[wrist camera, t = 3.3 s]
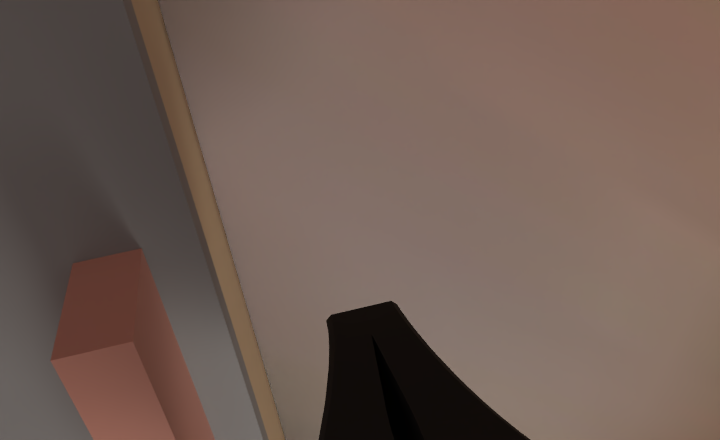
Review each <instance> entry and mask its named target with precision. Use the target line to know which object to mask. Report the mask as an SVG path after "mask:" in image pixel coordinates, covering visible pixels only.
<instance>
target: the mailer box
mask: <svg viewBox="0 0 720 440" xmlns="http://www.w3.org/2000/svg"><path fill="white" fill-rule="evenodd" d="M131 1H132V5H133V8H134V11H135V14H136V17H137V21H138V24H139V27H140V30H141V33H142V37H143V40H144V43H145V46H146V49H147V53H148V56H149V59H150V62H151V65H152V69H153V72H154V75H155V78H156V81H157V85H158V88H159V91H160V94H161V97H162V101H163V104H164V107H165V110H166V113H167V117H168V120H169V123H170V126H171V129H172V133H173V136H174V139H175V142H176V145H177V148H178V152H179V155H180V158H181V161H182V164H183V168H184V171H185V174H186V177H187V180H188V184H189V187H190V190H191V193H192V196H193V200H194V203H195V206H196V209H197V212H198V216H199V219H200V222H201V225H202V228H203V232H204V235H205V238H206V241H207V244H208V248H209V251H210V254H211V257H212V260H213V264H214V267H215V270H216V273H217V276H218V280H219V283H220V286H221V289H222V292H223V296H224V299H225V302H226V305H227V308H228V312H229V315H230V318H231V321H232V324H233V328H234V331H235V334H236V337H237V340H238V343H239V347H240V350H241V353H242V356H243V359H244V363H245V366H246V369H247V372H248V375H249V379H250V382H251V385H252V388H253V391H254V395H255V398H256V401H257V404H258V407H259V411H260V414H261V417H262V420H263V423H264V427H265V430H266V433H267V436H268V439H269V440H285V437H284V434H283V430H282V427H281V423H280V420H279V416H278V413H277V409H276V406H275V403H274V399H273V396H272V392H271V389H270V385H269V382H268V378H267V375H266V372H265V368H264V365H263V361H262V358H261V354H260V351H259V348H258V344H257V341H256V337H255V334H254V330H253V327H252V323H251V320H250V317H249V313H248V310H247V306H246V303H245V299H244V296H243V292H242V289H241V286H240V282H239V279H238V275H237V272H236V268H235V265H234V262H233V258H232V255H231V251H230V248H229V244H228V241H227V237H226V234H225V231H224V227H223V224H222V220H221V217H220V213H219V210H218V206H217V203H216V200H215V196H214V193H213V189H212V186H211V182H210V179H209V176H208V172H207V169H206V165H205V162H204V158H203V155H202V151H201V148H200V145H199V141H198V138H197V134H196V131H195V127H194V124H193V120H192V117H191V114H190V110H189V107H188V103H187V100H186V96H185V93H184V90H183V86H182V83H181V79H180V76H179V72H178V69H177V65H176V62H175V59H174V55H173V52H172V48H171V45H170V41H169V38H168V34H167V31H166V28H165V24H164V21H163V17H162V14H161V10H160V7H159V4H158V0H131Z"/></svg>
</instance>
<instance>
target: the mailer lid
mask: <svg viewBox="0 0 720 440" xmlns="http://www.w3.org/2000/svg"><path fill="white" fill-rule="evenodd" d="M0 440H269V439H268V436H267V433H266V430H265V427H264V423H263V420H262V417H261V414H260V411H259V407H258V404H257V401H256V398H255V395H254V391H253V388H252V385H251V382H250V379H249V375H248V372H247V369H246V366H245V363H244V359H243V356H242V353H241V350H240V347H239V343H238V340H237V337H236V334H235V331H234V328H233V324H232V321H231V318H230V315H229V312H228V308H227V305H226V302H225V299H224V296H223V292H222V289H221V286H220V283H219V280H218V276H217V273H216V270H215V267H214V264H213V260H212V257H211V254H210V251H209V248H208V244H207V241H206V238H205V235H204V232H203V228H202V225H201V222H200V219H199V216H198V212H197V209H196V206H195V203H194V200H193V196H192V193H191V190H190V187H189V184H188V180H187V177H186V174H185V171H184V168H183V164H182V161H181V158H180V155H179V152H178V148H177V145H176V142H175V139H174V136H173V133H172V129H171V126H170V123H169V120H168V117H167V113H166V110H165V107H164V104H163V101H162V97H161V94H160V91H159V88H158V85H157V81H156V78H155V75H154V72H153V69H152V65H151V62H150V59H149V56H148V53H147V49H146V46H145V43H144V40H143V37H142V33H141V30H140V27H139V24H138V21H137V17H136V14H135V11H134V8H133V5H132V1H131V0H0Z"/></svg>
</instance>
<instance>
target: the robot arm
mask: <svg viewBox="0 0 720 440" xmlns="http://www.w3.org/2000/svg"><path fill="white" fill-rule="evenodd" d="M326 322H327V327H328V333H329V371H328V381H327V391H326V400H325V407H324V413H323V418H322V424H321V430H320V435H319V440H530V439H529V438H527V437H526V436H525V435H523V434H522V433H521V432H519V431H518V430H517V429H516V428H514V427H513V426H512V425H511V424H509V423H508V422H507V421H506V420H504V419H503V418H502V417H501V416H500V415H498V414H497V413H496V412H495V411H494V410H493V409H491V408H490V407H489V406H488V405H487V404H486V403H485V402H483V401H482V400H481V399H480V398H479V397H478V396H477V395H476V394H475V393H474V392H473V391H472V390H471V389H470V388H468V387H467V386H466V385H465V384H464V383H463V382H462V381H461V380H460V379H459V378H458V377H457V376H456V375H455V374H454V373H453V372H452V371H451V370H450V368H449V367H448V366H447V365H446V364H445V363H444V362H443V361H442V360H441V359H440V358H439V357H438V356H437V355H436V354H435V352H434V351H433V350H432V349H431V348H430V347H429V346H428V345H427V343H426V342H425V341H424V340H423V339H422V337H421V336H420V335H419V334H418V333H417V331H416V330H415V329H414V328H413V326H412V325H411V324H410V322H409V321H408V320H407V318H406V317H405V316H404V314H403V313H402V311H401V310H400V308H399V307H398V305H397V304H396V303H394V302H392V301H389V302H384V303H380V304H376V305H372V306H367V307H363V308H359V309H354V310H350V311H346V312H342V313H337V314H333V315H331V316H330V317H329V318H328V319H327V320H326Z"/></svg>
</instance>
